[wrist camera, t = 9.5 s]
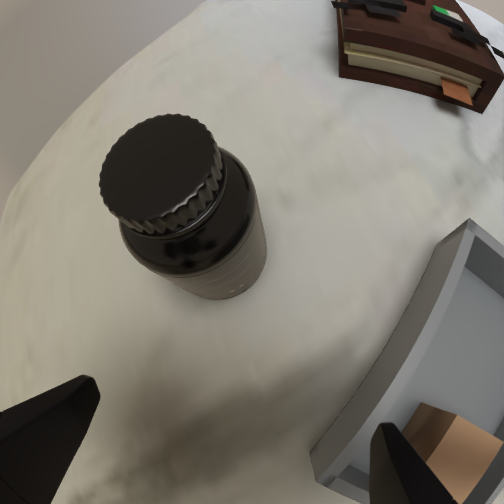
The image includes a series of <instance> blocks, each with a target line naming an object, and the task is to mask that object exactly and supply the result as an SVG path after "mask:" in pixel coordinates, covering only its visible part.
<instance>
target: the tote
mask: <svg viewBox="0 0 504 504" xmlns="http://www.w3.org/2000/svg"><path fill="white" fill-rule="evenodd" d="M421 402H422V403H425V404H428V405H431V406H433V407H436V408H439V409H442V410H445V411H448V412H451V413H454V414H456V415H459V416H460V417H462V418H464V419H465V420H467V421H469V422H470V423H472V424H474V425H475V426H477V427H479V428H481V429H482V430H484V431H486V432H487V433H489V434H491V435H493V436H494V437H496V438H498V439H500V440H501V441H503V442H504V246H503V245H502V244H501V243H500V242H498V241H497V240H496V239H495V238H494V237H492V236H491V235H490V234H489V233H488V232H486V231H485V230H484V229H483V228H481V227H480V226H479V225H478V224H476V223H475V222H474V221H473V220H471V219H470V218H469V219H467V220H466V221H465V222H464V223H462V224H461V225H460V226H459V227H458V228H456V229H455V230H454V231H453V232H451V233H450V234H449V235H448V236H446V237H445V238H444V239H443V240H441V241H440V242H439V243H437V246H436V248H435V250H434V253H433V255H432V257H431V260H430V262H429V264H428V266H427V268H426V271H425V273H424V275H423V277H422V279H421V281H420V283H419V285H418V287H417V289H416V291H415V293H414V295H413V297H412V299H411V301H410V303H409V305H408V307H407V309H406V311H405V313H404V314H403V316H402V318H401V320H400V322H399V324H398V325H397V327H396V329H395V331H394V332H393V334H392V336H391V338H390V339H389V341H388V343H387V344H386V346H385V348H384V349H383V351H382V353H381V354H380V356H379V358H378V359H377V361H376V362H375V364H374V366H373V367H372V369H371V370H370V372H369V373H368V375H367V376H366V378H365V379H364V381H363V382H362V384H361V385H360V387H359V388H358V390H357V391H356V393H355V394H354V395H353V397H352V398H351V400H350V401H349V403H348V404H347V405H346V407H345V408H344V409H343V411H342V412H341V413H340V415H339V416H338V417H337V419H336V420H335V421H334V423H333V424H332V425H331V427H330V428H329V429H328V430H327V432H326V433H325V434H324V436H323V437H322V438H321V439H320V440H319V442H318V443H317V444H316V445H315V447H314V448H313V449H312V450H311V451H310V457H311V461H312V466H313V470H314V475H315V480H316V482H317V483H319V484H321V485H323V486H325V487H327V488H329V489H331V490H333V491H335V492H338V493H340V494H342V495H344V496H346V497H348V498H351V499H353V500H355V501H357V502H360V503H362V504H370V498H369V470H370V442H371V438H372V436H373V434H374V432H375V430H376V428H377V426H378V425H379V423H381V422H393V423H394V424H395V425H396V426H397V428H398V429H399V430H400V431H401V432H402V430H403V429H404V427H405V426H406V425H407V423H408V422H409V420H410V419H411V417H412V416H413V414H414V412H415V411H416V409H417V408H418V406H419V405H420V403H421ZM503 487H504V443H503V444H502V446H501V448H500V449H499V451H498V453H497V454H496V456H495V458H494V459H493V461H492V462H491V464H490V466H489V467H488V469H487V470H486V472H485V473H484V475H483V476H482V478H481V479H480V480H479V482H478V483H477V485H476V486H475V487H474V489H473V490H472V491H471V493H470V494H469V495H468V497H467V498H466V499H465V501H464V502H463V503H462V504H492V503H493V501H494V500H495V499H496V497H497V496H498V494H499V493H500V492H501V490H502V489H503Z"/></svg>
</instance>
